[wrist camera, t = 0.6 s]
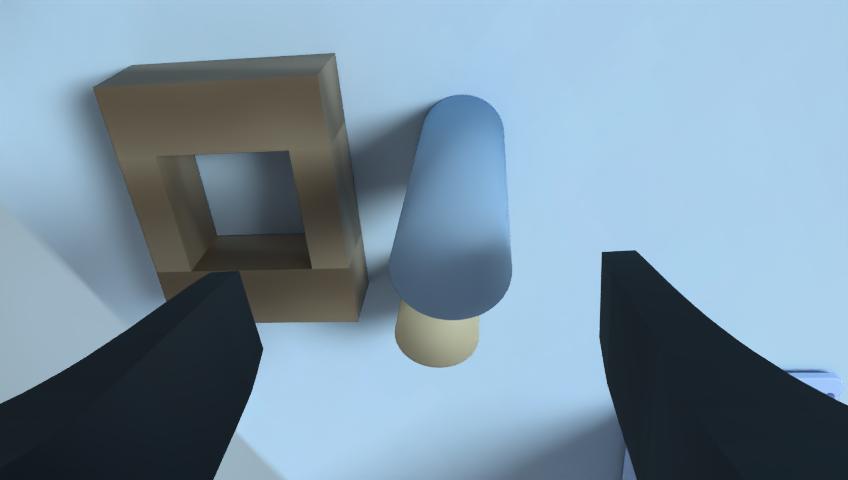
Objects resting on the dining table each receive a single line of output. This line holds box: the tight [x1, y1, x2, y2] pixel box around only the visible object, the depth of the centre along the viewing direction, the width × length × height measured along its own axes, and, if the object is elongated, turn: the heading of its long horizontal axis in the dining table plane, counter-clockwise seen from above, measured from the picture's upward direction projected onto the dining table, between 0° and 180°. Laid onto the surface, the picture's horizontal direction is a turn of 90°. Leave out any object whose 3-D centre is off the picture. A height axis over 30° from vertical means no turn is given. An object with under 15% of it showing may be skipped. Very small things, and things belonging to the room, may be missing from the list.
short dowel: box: [395, 298, 479, 368], centre depth 23 cm, size 3×3×4 cm
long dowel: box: [389, 95, 512, 320], centre depth 18 cm, size 3×3×8 cm
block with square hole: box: [93, 53, 369, 323], centre depth 22 cm, size 9×7×2 cm
